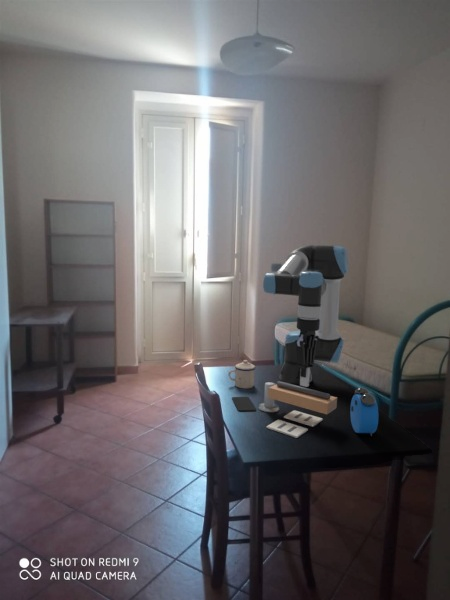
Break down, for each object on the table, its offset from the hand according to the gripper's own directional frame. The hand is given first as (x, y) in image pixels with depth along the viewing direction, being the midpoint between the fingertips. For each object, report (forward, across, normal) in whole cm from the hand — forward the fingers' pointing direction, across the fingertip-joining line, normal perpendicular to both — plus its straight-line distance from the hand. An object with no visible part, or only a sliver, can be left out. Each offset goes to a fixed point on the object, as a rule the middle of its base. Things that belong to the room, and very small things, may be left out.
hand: (304, 385), depth 153 cm
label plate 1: (+17, +2, -5) cm, 17 cm away
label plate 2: (+17, -10, -5) cm, 20 cm away
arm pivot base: (+17, -10, -20) cm, 28 cm away
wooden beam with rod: (+16, -10, -8) cm, 20 cm away
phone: (+17, -7, -30) cm, 35 cm away
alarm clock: (+17, -14, +16) cm, 27 cm away
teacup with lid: (+17, -25, -44) cm, 53 cm away
